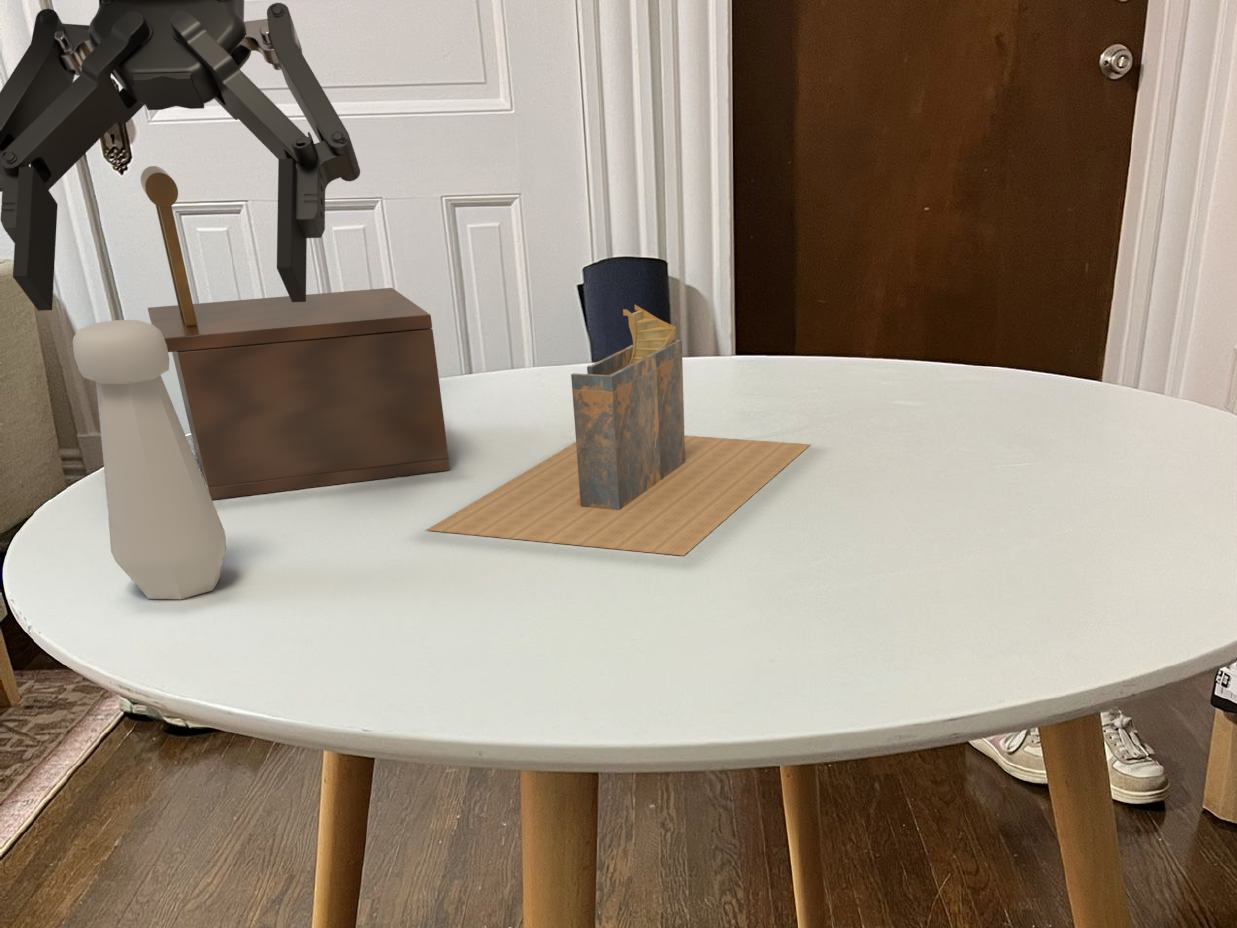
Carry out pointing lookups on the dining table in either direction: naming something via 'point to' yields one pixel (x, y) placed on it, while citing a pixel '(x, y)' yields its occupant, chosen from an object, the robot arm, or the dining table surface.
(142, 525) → the salt shaker
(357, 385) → the box
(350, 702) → the dining table surface
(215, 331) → the caddy lid
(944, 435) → the dining table surface
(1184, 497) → the dining table surface
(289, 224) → the robot arm
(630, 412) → the architectural model on board
